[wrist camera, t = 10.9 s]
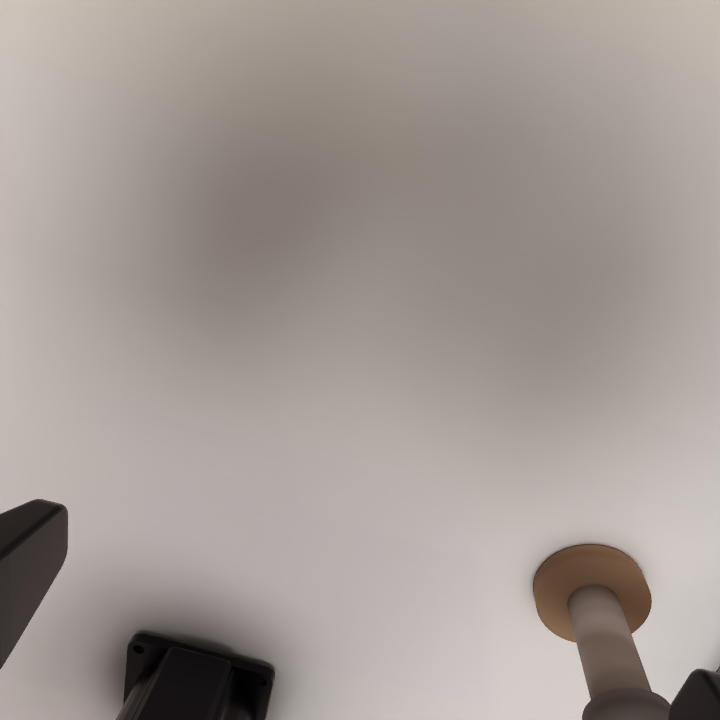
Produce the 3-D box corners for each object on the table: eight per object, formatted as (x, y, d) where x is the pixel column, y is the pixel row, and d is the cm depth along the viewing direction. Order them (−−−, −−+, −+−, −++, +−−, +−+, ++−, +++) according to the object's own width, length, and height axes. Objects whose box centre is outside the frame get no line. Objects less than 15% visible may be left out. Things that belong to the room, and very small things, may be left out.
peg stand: (619, 638, 23) (674, 802, 18) (519, 612, 24) (543, 767, 18) (662, 560, 22) (737, 714, 16) (554, 533, 22) (591, 676, 16)
